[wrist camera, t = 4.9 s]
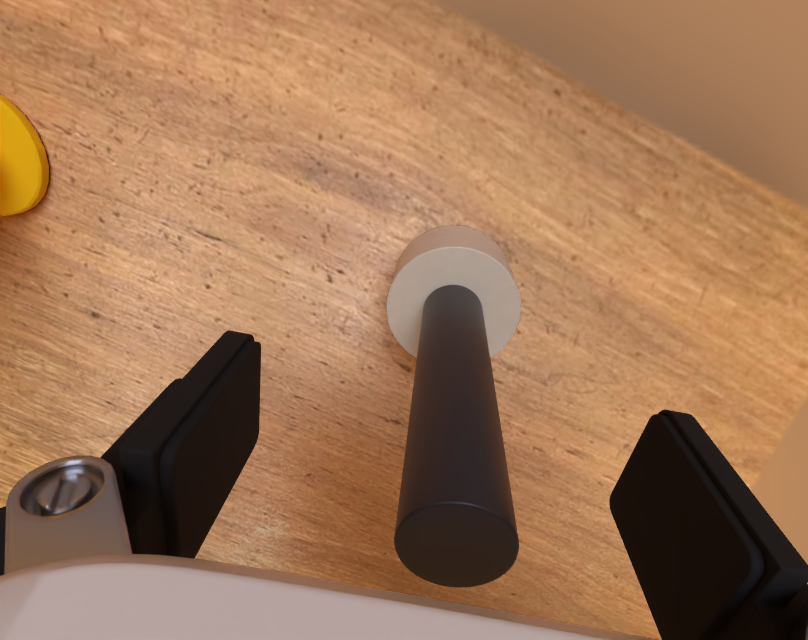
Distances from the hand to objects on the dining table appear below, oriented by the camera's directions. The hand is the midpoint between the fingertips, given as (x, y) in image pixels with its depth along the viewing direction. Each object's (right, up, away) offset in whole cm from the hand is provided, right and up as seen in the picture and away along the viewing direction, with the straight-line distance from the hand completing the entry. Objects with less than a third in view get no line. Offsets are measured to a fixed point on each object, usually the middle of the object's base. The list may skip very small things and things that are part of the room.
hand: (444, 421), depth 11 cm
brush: (+1, +4, +9) cm, 10 cm away
